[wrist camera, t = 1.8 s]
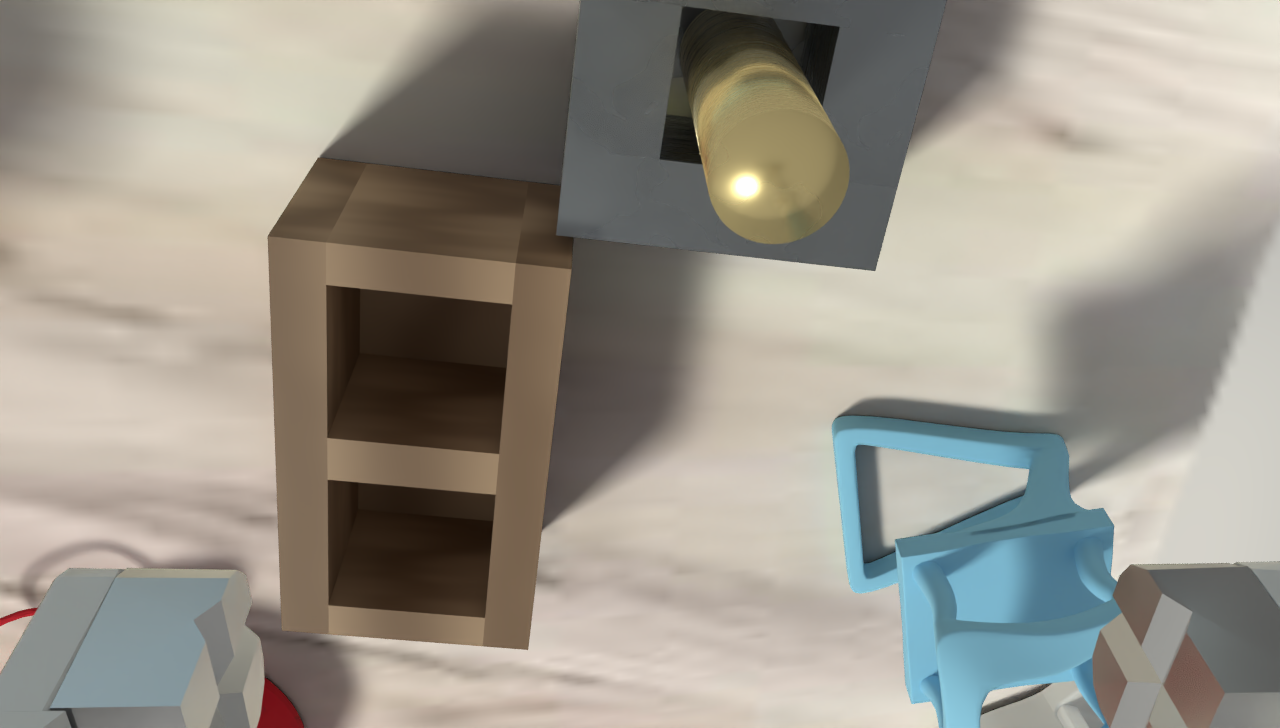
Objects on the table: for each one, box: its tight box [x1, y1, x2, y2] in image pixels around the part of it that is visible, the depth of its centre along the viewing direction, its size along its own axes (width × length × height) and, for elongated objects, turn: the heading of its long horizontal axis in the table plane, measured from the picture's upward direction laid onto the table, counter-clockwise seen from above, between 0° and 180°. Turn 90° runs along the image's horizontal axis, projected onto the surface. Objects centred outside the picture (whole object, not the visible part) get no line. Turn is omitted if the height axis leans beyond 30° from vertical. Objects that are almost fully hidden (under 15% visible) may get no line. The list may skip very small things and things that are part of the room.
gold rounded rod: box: [680, 9, 850, 244], centre depth 28 cm, size 3×3×10 cm
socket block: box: [556, 0, 947, 271], centre depth 31 cm, size 9×9×5 cm
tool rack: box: [268, 158, 573, 650], centre depth 36 cm, size 8×14×6 cm, turn 172°
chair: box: [832, 415, 1122, 728], centre depth 36 cm, size 8×8×12 cm
